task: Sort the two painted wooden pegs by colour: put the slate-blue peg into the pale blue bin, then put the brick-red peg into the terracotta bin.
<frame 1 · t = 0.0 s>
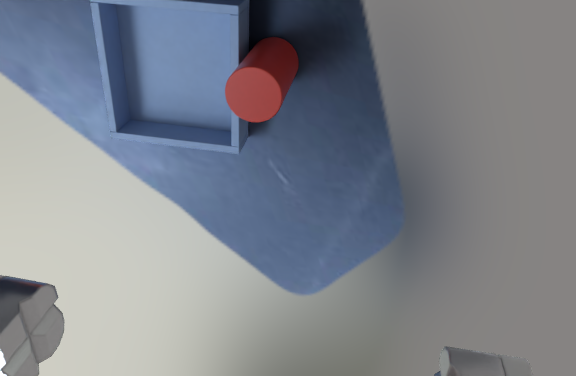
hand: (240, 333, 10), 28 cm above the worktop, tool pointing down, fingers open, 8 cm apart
red peg: (274, 61, 36), on the worktop
blue bin: (182, 65, 38), on the worktop
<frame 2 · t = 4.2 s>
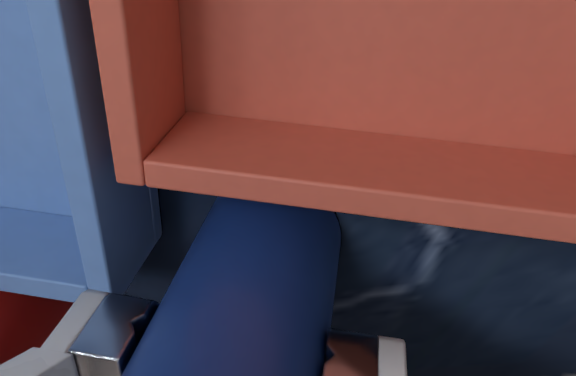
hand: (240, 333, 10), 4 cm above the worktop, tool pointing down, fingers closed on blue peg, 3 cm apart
blue peg: (274, 232, 13), on the worktop, touching gripper
red peg: (34, 263, 16), on the worktop
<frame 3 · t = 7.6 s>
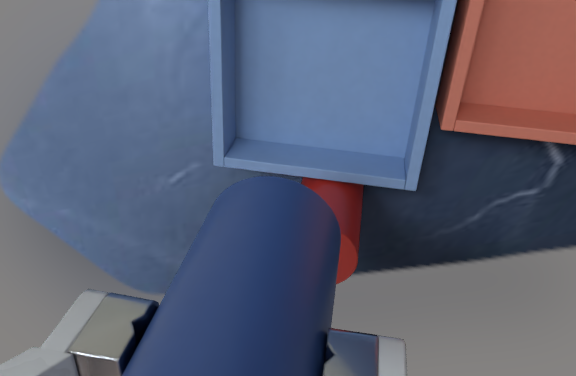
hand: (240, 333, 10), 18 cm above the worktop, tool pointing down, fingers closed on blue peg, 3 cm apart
blue peg: (274, 233, 13), point 15 cm above the worktop, touching gripper
red peg: (332, 183, 29), on the worktop
blue bin: (326, 65, 26), on the worktop
when the fingers open (4 cm above the worktop, at t = 11.1 s): blue peg stays where it is, resting on blue bin.
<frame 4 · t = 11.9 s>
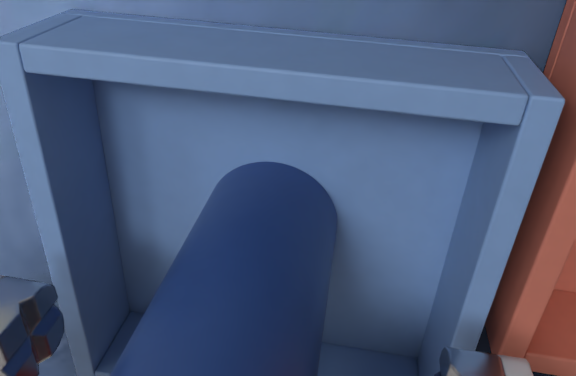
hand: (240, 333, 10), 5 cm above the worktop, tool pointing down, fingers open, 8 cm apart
blue peg: (272, 218, 14), resting on blue bin
blue bin: (277, 210, 14), on the worktop
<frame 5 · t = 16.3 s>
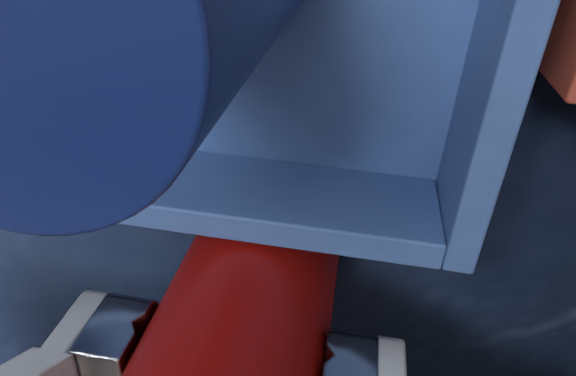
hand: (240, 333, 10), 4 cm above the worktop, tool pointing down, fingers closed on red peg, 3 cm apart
red peg: (273, 232, 13), on the worktop, touching gripper
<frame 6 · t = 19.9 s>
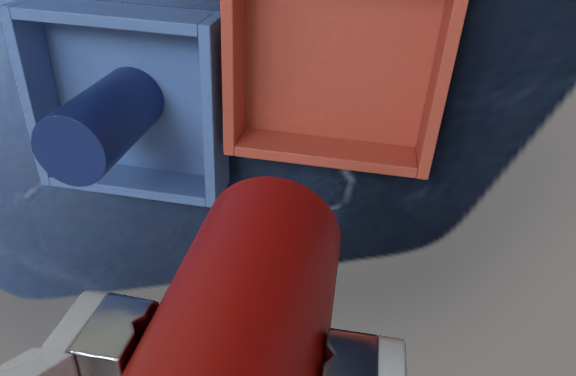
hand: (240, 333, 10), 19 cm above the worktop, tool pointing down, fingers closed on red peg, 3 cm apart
red bin: (337, 53, 26), on the worktop
blue peg: (134, 97, 28), resting on blue bin
red peg: (273, 233, 13), point 15 cm above the worktop, touching gripper
blue bin: (138, 95, 29), on the worktop
when the fingers open (4 cm above the worktop, at t = 23.5 s): red peg stays where it is, resting on red bin.
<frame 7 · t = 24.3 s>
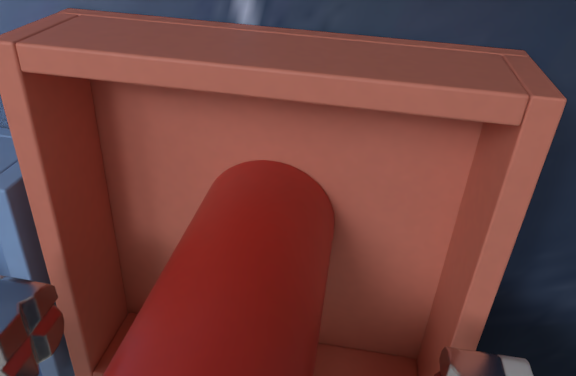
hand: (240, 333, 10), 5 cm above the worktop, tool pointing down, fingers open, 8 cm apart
red bin: (276, 210, 14), on the worktop
red peg: (269, 216, 14), resting on red bin
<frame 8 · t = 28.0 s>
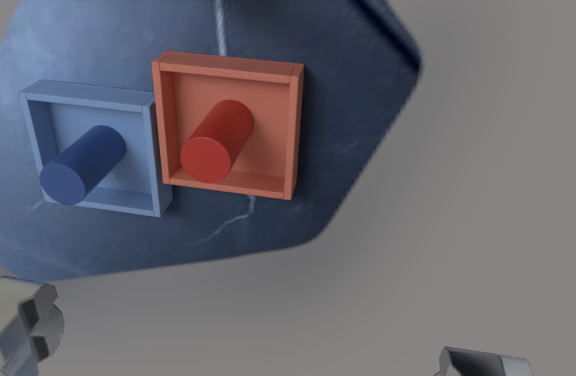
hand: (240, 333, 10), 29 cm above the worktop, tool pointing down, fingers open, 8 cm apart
red bin: (234, 119, 40), on the worktop
blue peg: (106, 144, 43), resting on blue bin
red peg: (232, 120, 40), resting on red bin
blue bin: (109, 142, 43), on the worktop
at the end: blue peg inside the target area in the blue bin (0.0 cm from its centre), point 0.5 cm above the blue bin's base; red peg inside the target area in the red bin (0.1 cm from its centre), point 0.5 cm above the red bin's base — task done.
